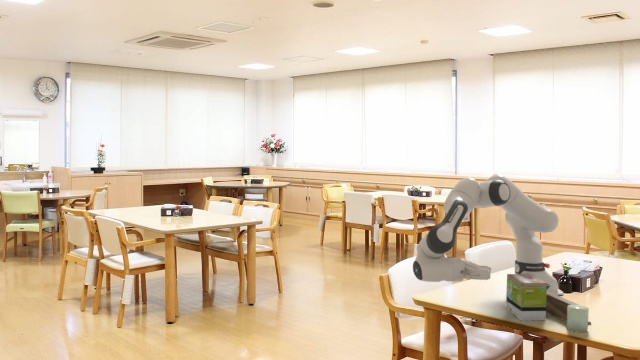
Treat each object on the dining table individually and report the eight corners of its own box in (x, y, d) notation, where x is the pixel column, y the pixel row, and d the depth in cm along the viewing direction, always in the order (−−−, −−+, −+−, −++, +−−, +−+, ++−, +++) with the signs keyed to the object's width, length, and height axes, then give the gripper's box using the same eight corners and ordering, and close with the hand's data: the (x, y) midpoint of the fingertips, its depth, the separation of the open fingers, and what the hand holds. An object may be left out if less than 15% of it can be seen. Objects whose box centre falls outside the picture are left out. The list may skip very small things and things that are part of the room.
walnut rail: (551, 306, 240) (552, 289, 240) (591, 324, 217) (592, 305, 216) (536, 306, 239) (537, 290, 238) (574, 325, 215) (575, 306, 215)
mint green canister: (579, 325, 215) (580, 304, 215) (591, 331, 208) (593, 309, 208) (562, 326, 214) (563, 305, 213) (574, 332, 207) (575, 310, 206)
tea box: (504, 309, 234) (506, 273, 233) (528, 309, 235) (530, 273, 234) (520, 320, 219) (522, 282, 219) (546, 320, 220) (548, 282, 219)
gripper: (469, 267, 209) (503, 266, 212) (444, 256, 229) (476, 255, 232) (468, 284, 209) (503, 283, 213) (443, 272, 229) (475, 271, 232)
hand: (489, 269), depth 222 cm, fingers closed
